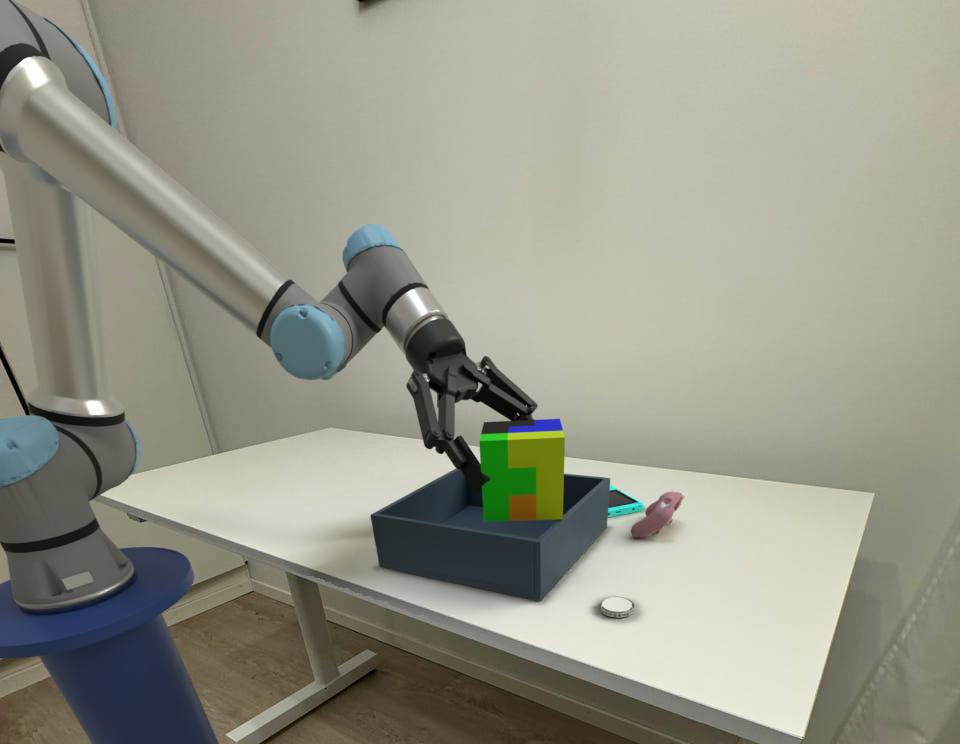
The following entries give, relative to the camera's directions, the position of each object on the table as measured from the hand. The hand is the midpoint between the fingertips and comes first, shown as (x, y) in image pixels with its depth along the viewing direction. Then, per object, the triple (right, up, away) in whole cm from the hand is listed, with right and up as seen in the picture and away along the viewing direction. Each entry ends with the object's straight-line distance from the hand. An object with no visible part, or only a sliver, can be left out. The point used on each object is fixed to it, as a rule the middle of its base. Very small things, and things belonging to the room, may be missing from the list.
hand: (517, 473), depth 72 cm
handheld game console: (+16, +3, +26) cm, 31 cm away
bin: (-2, -8, +12) cm, 14 cm away
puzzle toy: (+1, -4, +2) cm, 5 cm away
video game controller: (+23, -5, +14) cm, 27 cm away
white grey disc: (+12, -18, -5) cm, 22 cm away
